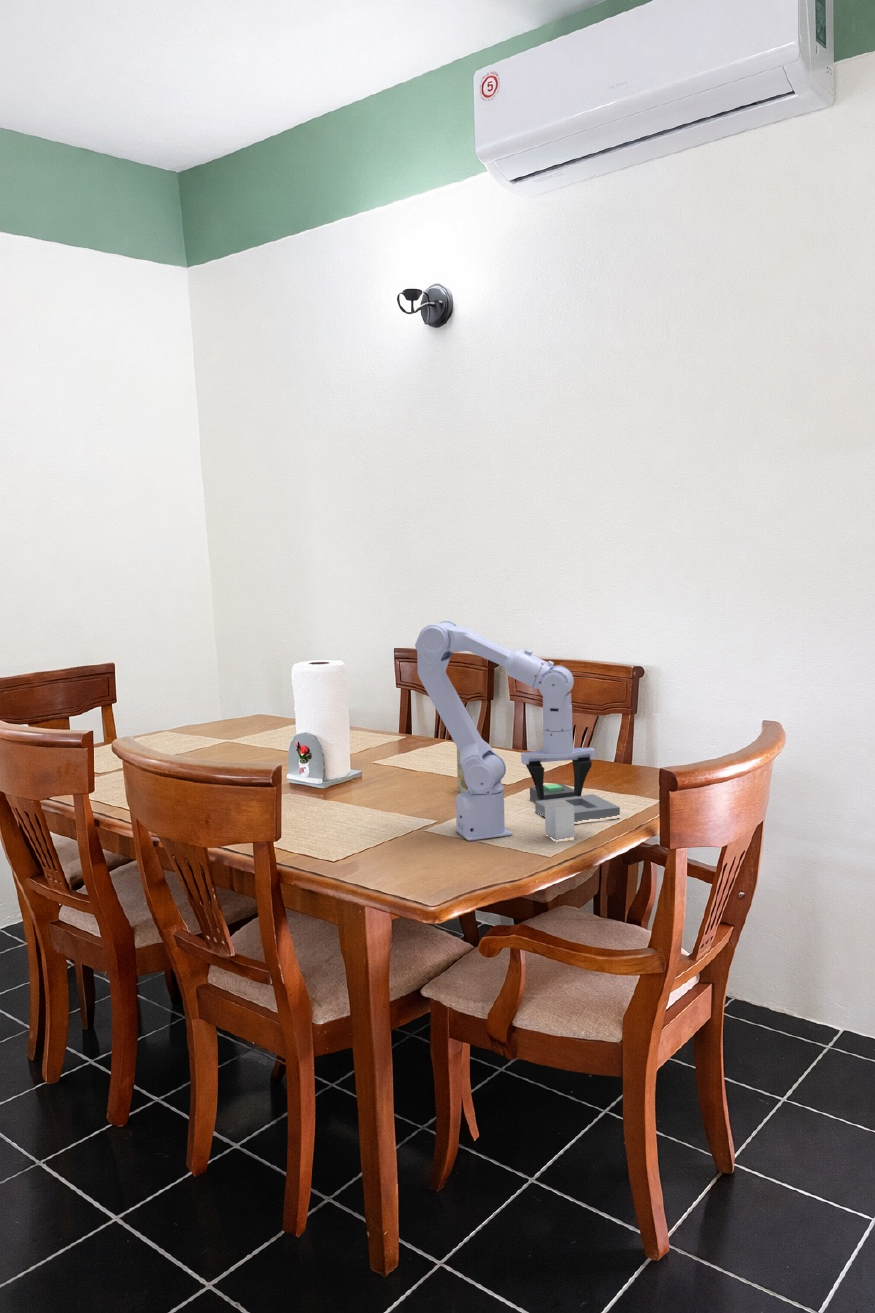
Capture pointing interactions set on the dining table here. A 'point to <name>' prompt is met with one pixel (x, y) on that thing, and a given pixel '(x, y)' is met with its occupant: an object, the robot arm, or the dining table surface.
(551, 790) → the button
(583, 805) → the pocket plate
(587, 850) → the dining table surface
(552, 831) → the block
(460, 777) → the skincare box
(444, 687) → the robot arm
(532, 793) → the button housing
